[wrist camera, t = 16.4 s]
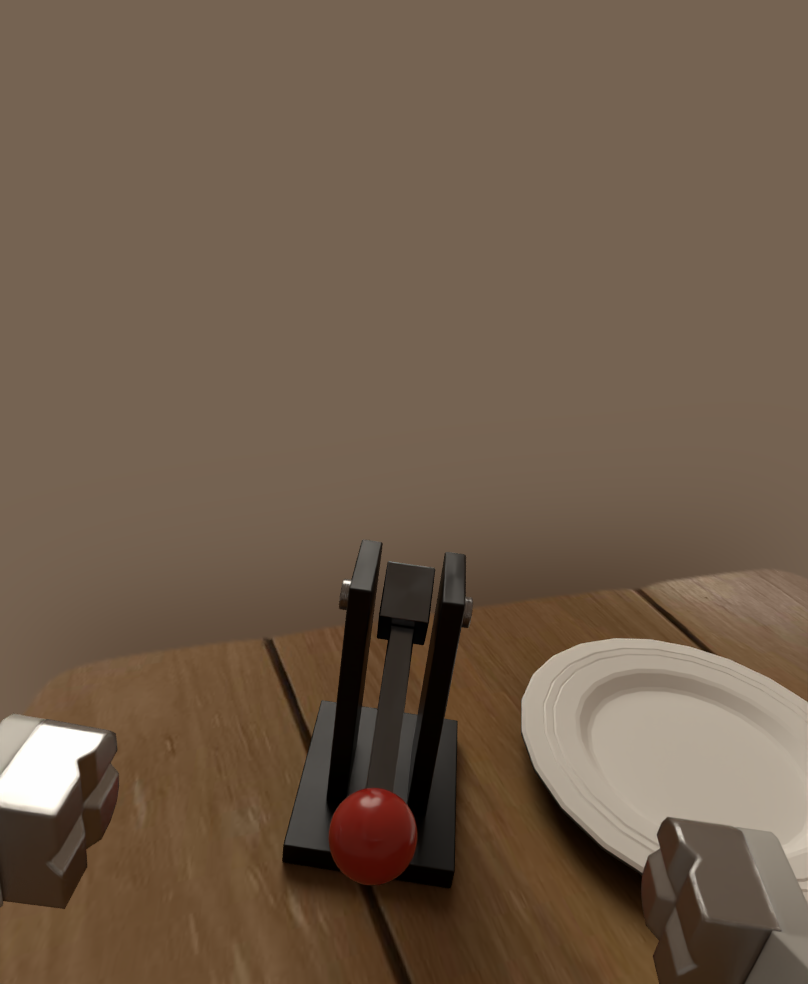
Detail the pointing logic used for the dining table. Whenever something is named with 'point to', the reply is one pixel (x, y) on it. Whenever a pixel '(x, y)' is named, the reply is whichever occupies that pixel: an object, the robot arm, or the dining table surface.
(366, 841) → the lever
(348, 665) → the switch bracket
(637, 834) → the plate
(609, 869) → the dining table surface
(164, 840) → the dining table surface
